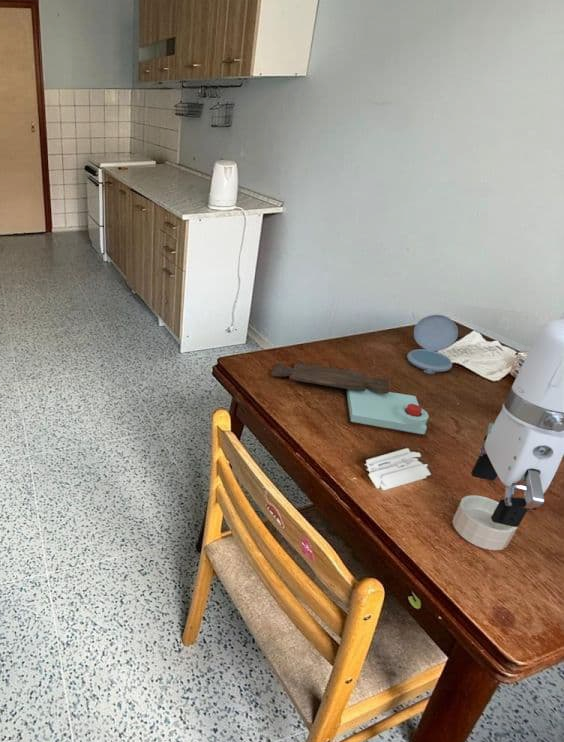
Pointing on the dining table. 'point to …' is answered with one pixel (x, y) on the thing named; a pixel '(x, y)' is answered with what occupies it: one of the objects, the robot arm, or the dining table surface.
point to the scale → (385, 410)
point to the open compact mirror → (433, 343)
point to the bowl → (481, 523)
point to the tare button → (413, 410)
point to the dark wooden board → (331, 377)
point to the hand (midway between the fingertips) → (492, 499)
